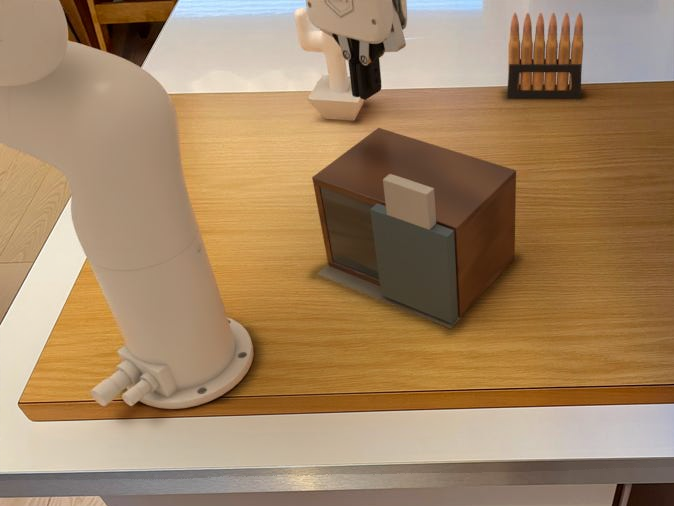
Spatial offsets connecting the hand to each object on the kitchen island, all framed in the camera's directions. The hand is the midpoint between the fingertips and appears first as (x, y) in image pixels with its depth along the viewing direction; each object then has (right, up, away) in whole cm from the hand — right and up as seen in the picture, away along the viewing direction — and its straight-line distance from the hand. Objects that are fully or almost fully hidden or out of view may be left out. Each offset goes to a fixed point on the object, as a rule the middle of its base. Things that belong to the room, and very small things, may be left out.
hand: (367, 93), depth 90 cm
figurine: (-7, +6, +27) cm, 29 cm away
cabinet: (+6, -18, +2) cm, 19 cm away
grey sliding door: (+6, -24, -4) cm, 25 cm away
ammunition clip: (+22, +9, +30) cm, 38 cm away
